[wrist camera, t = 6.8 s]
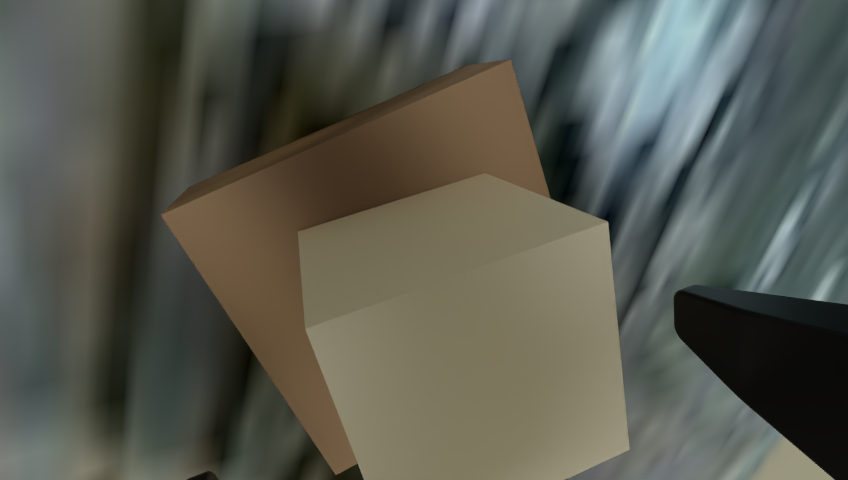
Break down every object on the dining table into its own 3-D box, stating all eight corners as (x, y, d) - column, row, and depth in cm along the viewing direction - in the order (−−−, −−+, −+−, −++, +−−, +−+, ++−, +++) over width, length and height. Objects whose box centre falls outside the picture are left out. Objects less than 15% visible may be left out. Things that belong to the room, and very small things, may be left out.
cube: (484, 173, 12) (608, 221, 7) (515, 331, 14) (629, 449, 9) (297, 231, 11) (304, 328, 6) (356, 392, 13) (394, 559, 8)
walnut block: (462, 65, 14) (510, 59, 11) (537, 293, 18) (590, 337, 15) (191, 184, 13) (160, 214, 10) (327, 401, 17) (335, 475, 14)
